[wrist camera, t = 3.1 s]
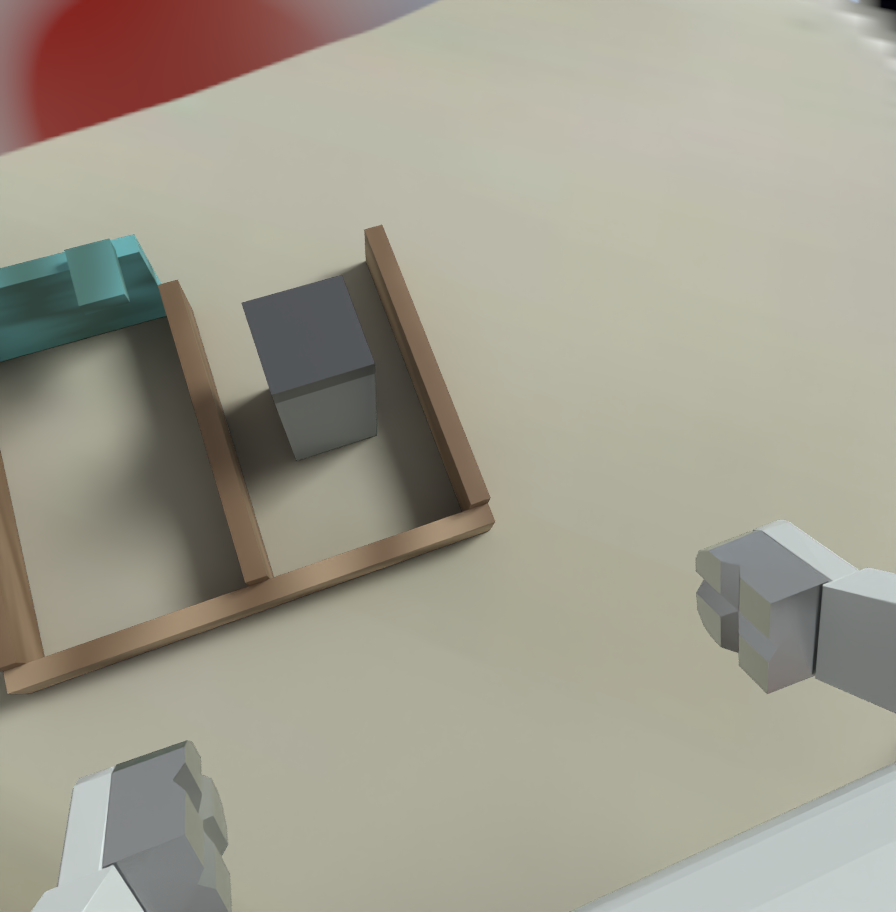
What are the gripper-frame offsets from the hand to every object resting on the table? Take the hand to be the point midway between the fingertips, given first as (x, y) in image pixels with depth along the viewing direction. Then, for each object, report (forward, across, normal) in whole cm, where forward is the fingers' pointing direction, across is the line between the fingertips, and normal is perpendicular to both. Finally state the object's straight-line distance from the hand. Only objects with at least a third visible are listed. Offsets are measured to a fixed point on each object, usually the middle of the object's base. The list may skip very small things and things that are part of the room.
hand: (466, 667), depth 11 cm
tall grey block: (+29, -1, +8) cm, 30 cm away
